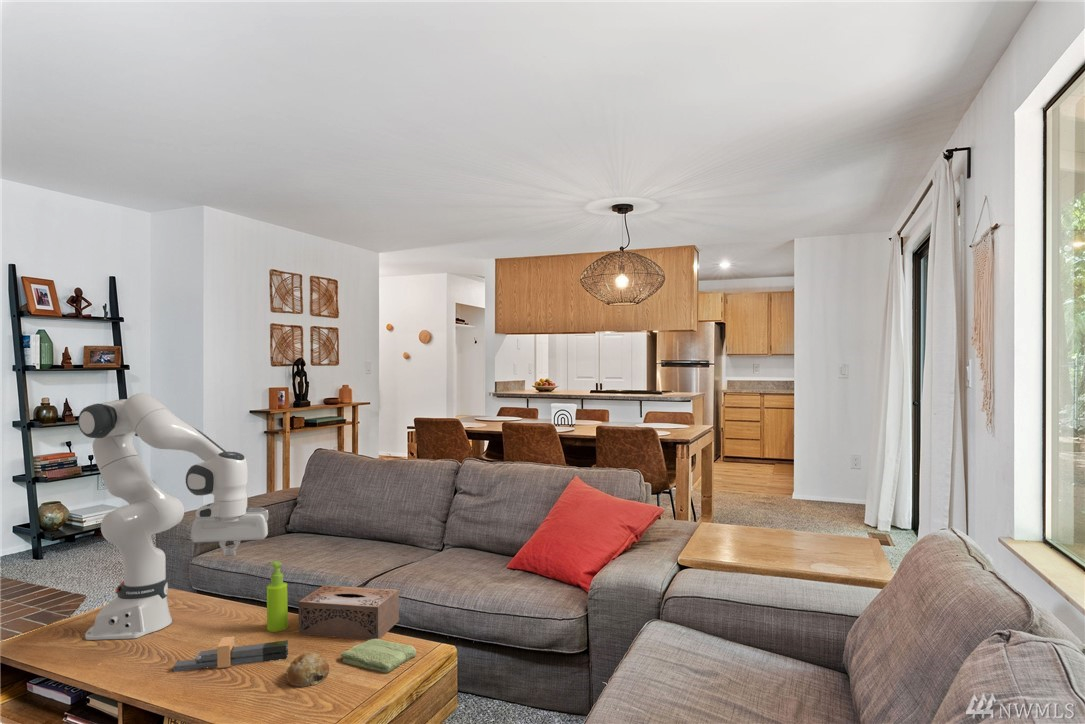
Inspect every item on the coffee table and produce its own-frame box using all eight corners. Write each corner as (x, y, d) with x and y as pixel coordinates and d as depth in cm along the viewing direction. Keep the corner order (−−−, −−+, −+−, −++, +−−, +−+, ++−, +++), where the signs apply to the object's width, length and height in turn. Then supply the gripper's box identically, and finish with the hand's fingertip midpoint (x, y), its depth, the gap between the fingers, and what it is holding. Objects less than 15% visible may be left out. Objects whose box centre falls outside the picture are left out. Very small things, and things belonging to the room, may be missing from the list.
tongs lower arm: (173, 672, 168) (173, 665, 168) (177, 666, 171) (177, 660, 171) (286, 659, 175) (286, 652, 175) (288, 653, 178) (287, 647, 178)
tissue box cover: (298, 634, 192) (298, 601, 192) (324, 616, 206) (324, 585, 206) (378, 641, 186) (378, 607, 186) (398, 621, 201) (398, 589, 201)
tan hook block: (217, 668, 170) (217, 646, 170) (222, 658, 175) (222, 637, 175) (229, 666, 170) (229, 645, 170) (234, 656, 176) (234, 636, 176)
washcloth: (371, 644, 185) (371, 633, 185) (419, 656, 177) (419, 645, 177) (337, 663, 173) (337, 651, 173) (386, 677, 165) (386, 665, 165)
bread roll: (298, 704, 158) (307, 678, 157) (275, 677, 163) (283, 652, 162) (331, 687, 167) (339, 662, 165) (307, 661, 172) (315, 637, 170)
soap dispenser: (281, 621, 201) (281, 558, 201) (290, 627, 196) (290, 562, 196) (262, 627, 197) (262, 562, 197) (271, 633, 192) (271, 567, 192)
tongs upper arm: (195, 662, 169) (194, 656, 169) (198, 656, 173) (198, 651, 173) (286, 651, 175) (286, 645, 175) (288, 645, 178) (287, 640, 178)
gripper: (270, 504, 191) (269, 550, 191) (196, 506, 186) (195, 553, 187) (266, 509, 185) (265, 556, 185) (189, 511, 180) (188, 560, 180)
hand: (229, 555), depth 186 cm, fingers closed
